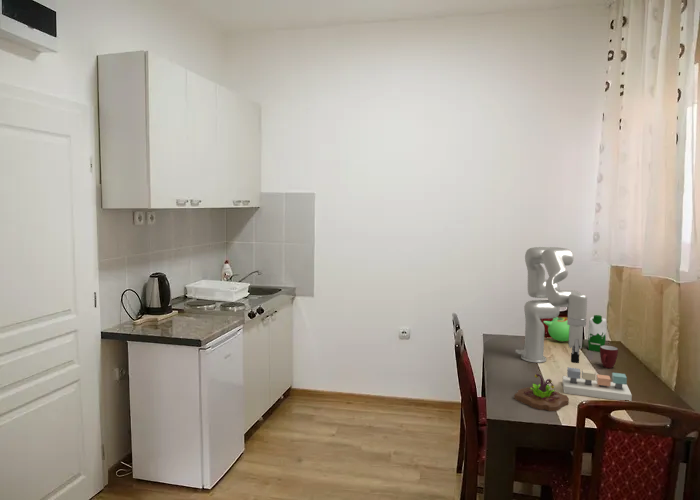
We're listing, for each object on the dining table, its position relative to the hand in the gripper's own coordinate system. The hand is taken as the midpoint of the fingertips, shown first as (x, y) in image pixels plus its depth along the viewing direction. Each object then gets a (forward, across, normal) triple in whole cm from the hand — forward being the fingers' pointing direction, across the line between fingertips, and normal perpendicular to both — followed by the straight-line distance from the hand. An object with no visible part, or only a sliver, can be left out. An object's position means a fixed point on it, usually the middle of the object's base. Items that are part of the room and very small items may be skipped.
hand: (574, 362), depth 221 cm
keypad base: (+12, -1, +9) cm, 15 cm away
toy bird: (+11, -84, -2) cm, 84 cm away
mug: (+12, -39, +18) cm, 44 cm away
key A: (+9, -1, 0) cm, 9 cm away
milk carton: (+11, -71, +16) cm, 73 cm away
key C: (+11, -1, +12) cm, 16 cm away
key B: (+9, -1, +6) cm, 11 cm away
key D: (+9, -1, +18) cm, 20 cm away
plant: (+13, +18, -14) cm, 26 cm away
